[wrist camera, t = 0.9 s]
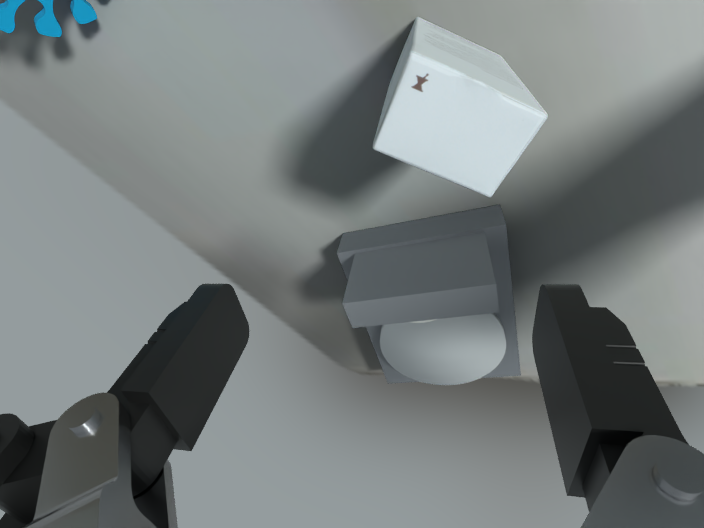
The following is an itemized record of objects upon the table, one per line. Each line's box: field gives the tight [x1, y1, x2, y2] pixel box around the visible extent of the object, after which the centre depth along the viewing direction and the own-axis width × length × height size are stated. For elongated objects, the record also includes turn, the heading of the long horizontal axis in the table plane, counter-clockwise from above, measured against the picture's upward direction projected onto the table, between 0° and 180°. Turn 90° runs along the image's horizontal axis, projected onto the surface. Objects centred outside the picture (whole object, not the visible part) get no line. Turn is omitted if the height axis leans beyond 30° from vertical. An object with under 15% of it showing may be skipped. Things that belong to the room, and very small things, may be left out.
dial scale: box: [337, 205, 521, 385], centre depth 33 cm, size 13×17×9 cm
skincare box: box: [373, 17, 548, 197], centre depth 21 cm, size 6×4×12 cm
